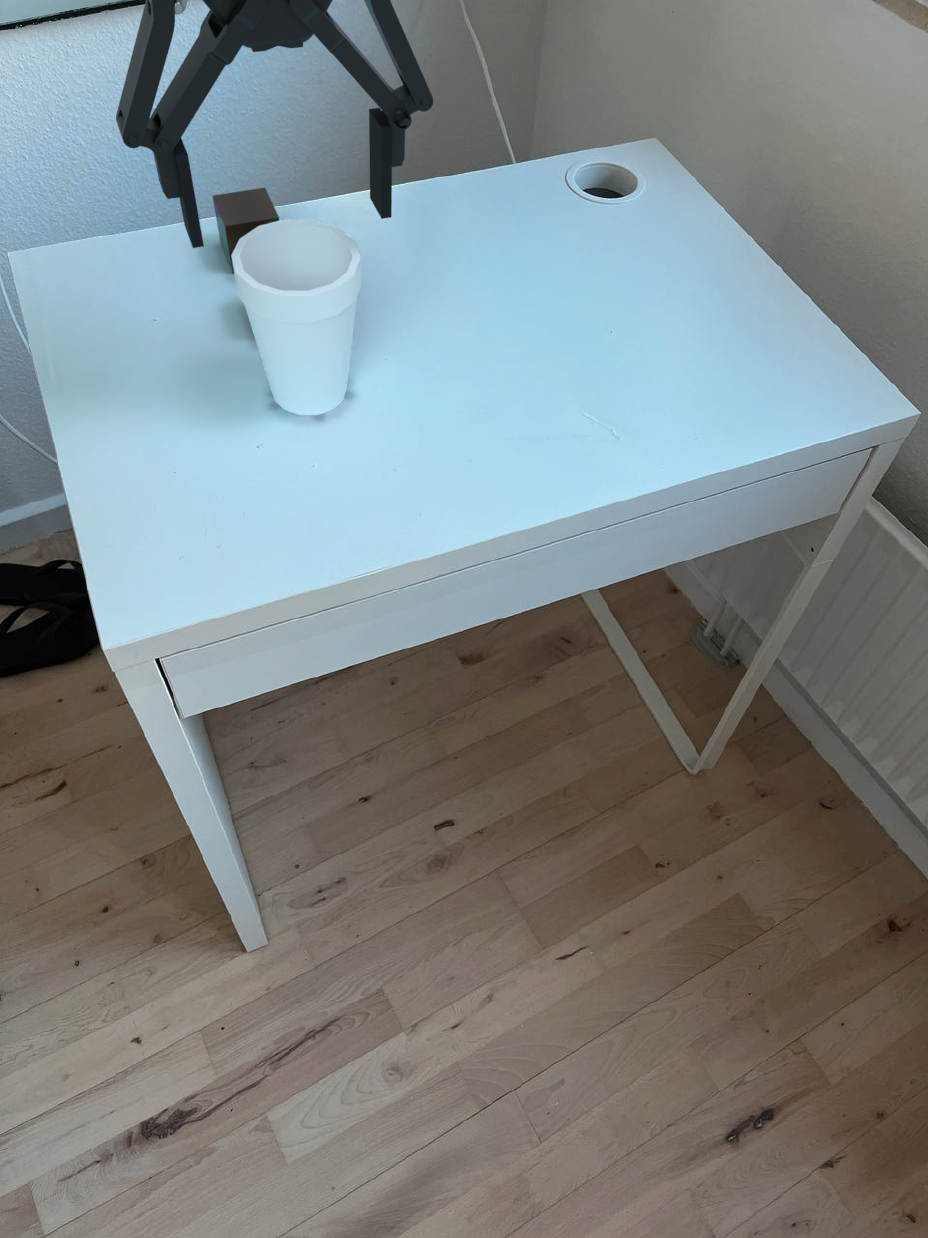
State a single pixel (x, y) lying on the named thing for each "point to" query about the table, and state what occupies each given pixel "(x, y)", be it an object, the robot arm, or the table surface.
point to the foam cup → (301, 308)
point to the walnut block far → (241, 216)
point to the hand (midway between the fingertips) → (290, 222)
